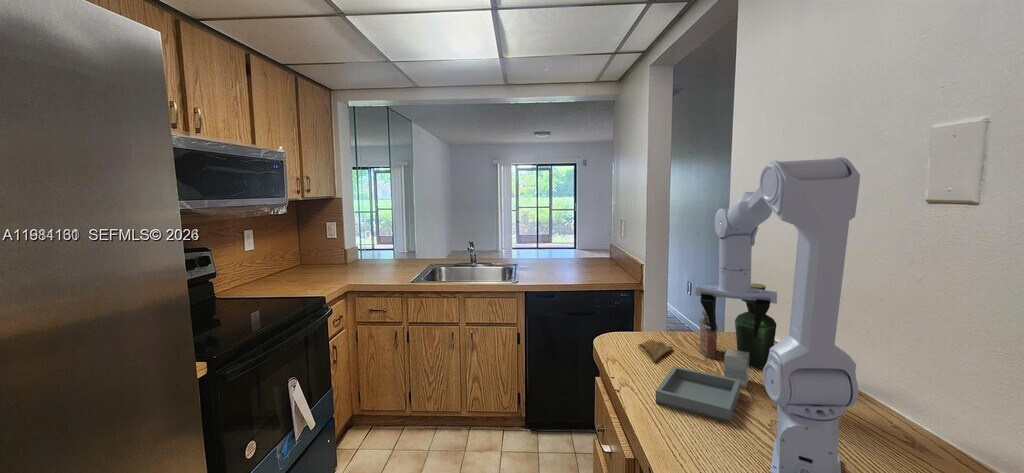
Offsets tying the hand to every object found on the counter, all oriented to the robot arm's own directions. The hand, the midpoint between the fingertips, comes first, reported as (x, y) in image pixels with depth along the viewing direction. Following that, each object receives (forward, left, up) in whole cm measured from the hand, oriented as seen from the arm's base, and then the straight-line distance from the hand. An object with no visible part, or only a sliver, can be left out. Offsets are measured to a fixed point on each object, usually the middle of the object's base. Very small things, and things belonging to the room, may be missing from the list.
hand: (733, 332), depth 84 cm
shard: (+7, +17, -11) cm, 22 cm away
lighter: (+13, +7, -11) cm, 18 cm away
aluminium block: (0, -1, -10) cm, 10 cm away
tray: (-11, +4, -10) cm, 16 cm away
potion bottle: (+12, -3, -11) cm, 16 cm away
